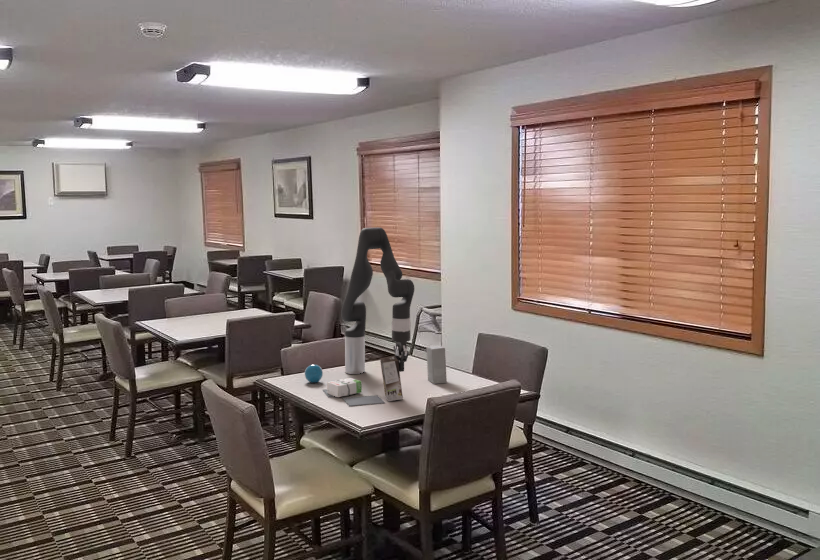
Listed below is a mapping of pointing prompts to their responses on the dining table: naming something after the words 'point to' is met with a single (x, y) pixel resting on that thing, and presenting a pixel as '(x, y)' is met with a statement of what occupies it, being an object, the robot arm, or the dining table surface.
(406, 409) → the dining table surface
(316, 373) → the ball
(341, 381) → the ink box
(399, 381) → the coffee box
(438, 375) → the skincare box
